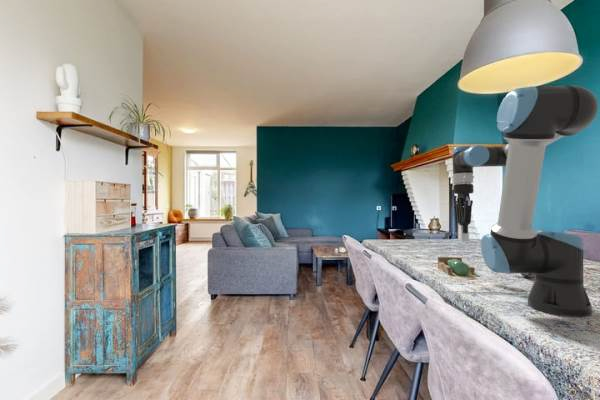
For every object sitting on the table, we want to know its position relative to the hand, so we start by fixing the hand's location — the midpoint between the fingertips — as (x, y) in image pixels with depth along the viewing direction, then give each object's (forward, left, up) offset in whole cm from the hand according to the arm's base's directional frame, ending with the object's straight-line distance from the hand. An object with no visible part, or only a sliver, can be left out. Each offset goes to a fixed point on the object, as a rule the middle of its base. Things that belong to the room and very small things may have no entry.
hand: (464, 241), depth 137 cm
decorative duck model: (+5, -30, -16) cm, 34 cm away
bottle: (+1, 0, -12) cm, 12 cm away
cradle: (+8, 0, -16) cm, 18 cm away
